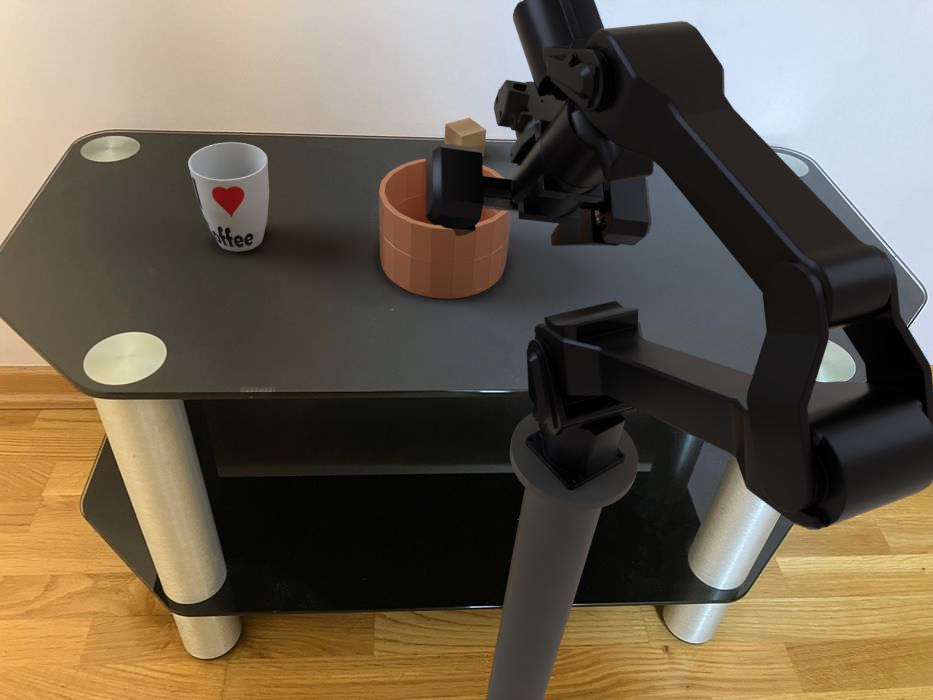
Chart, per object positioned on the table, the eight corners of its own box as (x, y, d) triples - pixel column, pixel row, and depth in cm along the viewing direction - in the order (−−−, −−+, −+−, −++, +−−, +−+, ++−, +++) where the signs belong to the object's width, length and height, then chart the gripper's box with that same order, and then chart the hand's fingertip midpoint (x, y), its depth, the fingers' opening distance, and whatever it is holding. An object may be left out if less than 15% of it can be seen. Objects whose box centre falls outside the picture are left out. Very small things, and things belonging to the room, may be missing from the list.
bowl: (530, 273, 88) (540, 205, 82) (424, 314, 82) (426, 244, 76) (459, 212, 97) (463, 146, 91) (357, 246, 90) (355, 177, 84)
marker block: (484, 156, 107) (486, 129, 105) (460, 163, 105) (461, 136, 103) (467, 144, 110) (469, 117, 107) (443, 150, 108) (445, 123, 105)
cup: (189, 247, 88) (171, 168, 81) (231, 212, 94) (218, 135, 87) (251, 267, 86) (238, 188, 79) (290, 229, 92) (281, 153, 85)
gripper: (680, 75, 62) (593, 168, 76) (452, 35, 56) (405, 143, 71) (693, 204, 59) (601, 276, 73) (454, 174, 53) (405, 258, 68)
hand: (505, 235), depth 71 cm, fingers open, 9 cm apart
